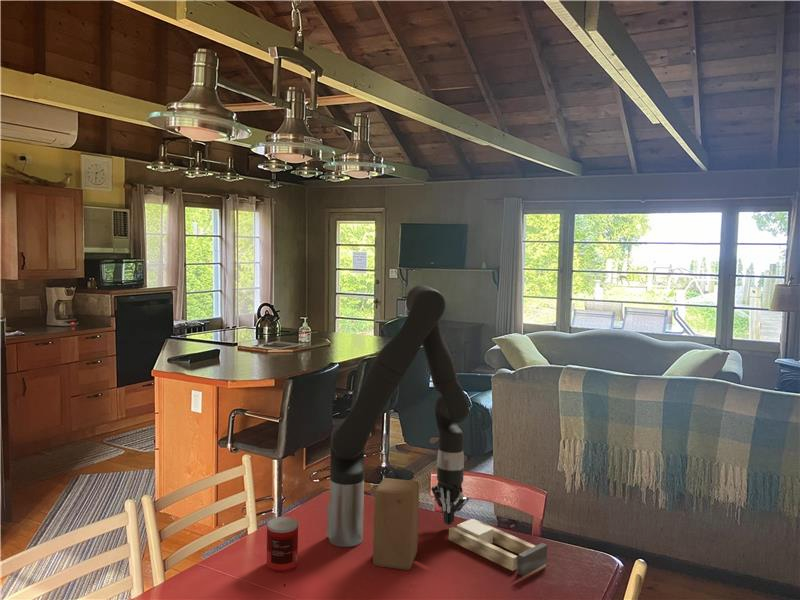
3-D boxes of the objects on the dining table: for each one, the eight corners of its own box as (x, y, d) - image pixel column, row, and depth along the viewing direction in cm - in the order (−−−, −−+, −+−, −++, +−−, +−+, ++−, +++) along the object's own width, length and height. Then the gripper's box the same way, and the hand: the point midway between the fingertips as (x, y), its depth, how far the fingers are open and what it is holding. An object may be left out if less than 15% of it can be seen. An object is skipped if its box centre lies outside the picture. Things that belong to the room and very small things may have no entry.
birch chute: (445, 541, 176) (446, 521, 175) (469, 531, 183) (470, 512, 182) (522, 578, 157) (523, 556, 156) (546, 566, 164) (547, 545, 163)
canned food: (285, 554, 166) (286, 514, 165) (303, 566, 160) (304, 524, 159) (260, 564, 160) (260, 522, 159) (278, 576, 155) (278, 533, 154)
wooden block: (410, 572, 159) (413, 494, 157) (371, 566, 161) (373, 490, 159) (417, 553, 168) (420, 480, 167) (380, 548, 170) (382, 476, 169)
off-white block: (456, 538, 176) (456, 524, 175) (470, 532, 180) (471, 519, 179) (478, 549, 170) (478, 535, 170) (492, 542, 174) (493, 528, 174)
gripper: (424, 461, 183) (423, 519, 184) (458, 474, 173) (456, 535, 175) (442, 456, 188) (441, 512, 189) (476, 468, 178) (474, 527, 180)
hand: (448, 523), depth 182 cm, fingers closed
